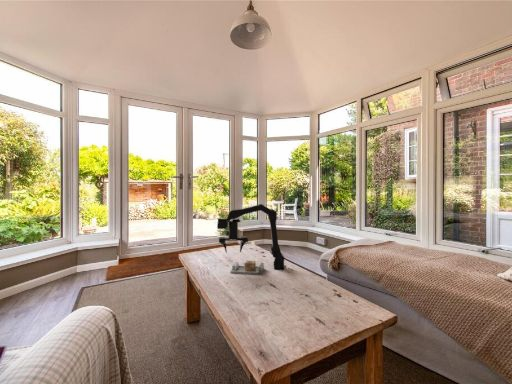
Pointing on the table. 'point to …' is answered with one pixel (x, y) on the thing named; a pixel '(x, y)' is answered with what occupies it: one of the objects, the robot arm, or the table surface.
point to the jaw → (235, 266)
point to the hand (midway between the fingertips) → (233, 252)
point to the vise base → (241, 270)
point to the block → (250, 265)
